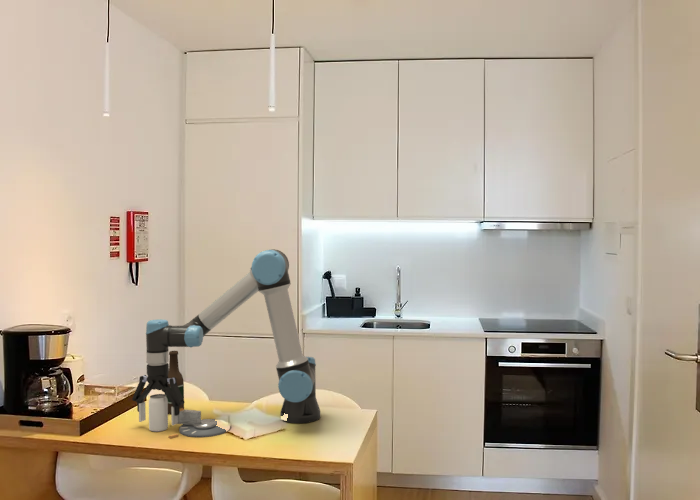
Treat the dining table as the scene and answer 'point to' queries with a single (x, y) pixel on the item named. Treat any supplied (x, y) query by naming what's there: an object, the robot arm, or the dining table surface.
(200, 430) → the dial plate
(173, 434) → the small orange block
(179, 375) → the beer bottle
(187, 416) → the dial
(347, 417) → the dining table surface
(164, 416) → the can
